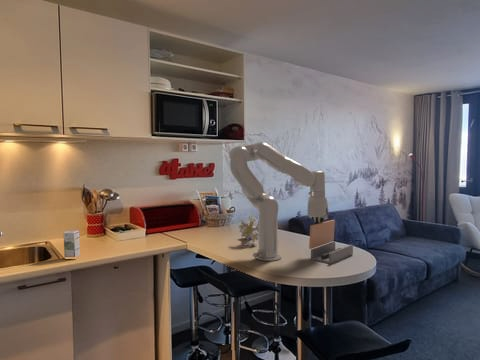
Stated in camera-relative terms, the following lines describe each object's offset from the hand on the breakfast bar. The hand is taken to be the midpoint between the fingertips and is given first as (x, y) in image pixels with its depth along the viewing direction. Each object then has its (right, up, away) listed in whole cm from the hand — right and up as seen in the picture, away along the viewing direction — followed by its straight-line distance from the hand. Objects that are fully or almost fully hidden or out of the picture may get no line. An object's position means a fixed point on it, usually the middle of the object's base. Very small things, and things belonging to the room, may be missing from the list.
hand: (318, 229), depth 175 cm
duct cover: (+2, -2, -2) cm, 4 cm away
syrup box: (-129, -15, +1) cm, 130 cm away
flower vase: (-35, -12, +31) cm, 48 cm away
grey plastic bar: (+6, -13, -6) cm, 15 cm away
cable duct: (+6, -13, -6) cm, 15 cm away
